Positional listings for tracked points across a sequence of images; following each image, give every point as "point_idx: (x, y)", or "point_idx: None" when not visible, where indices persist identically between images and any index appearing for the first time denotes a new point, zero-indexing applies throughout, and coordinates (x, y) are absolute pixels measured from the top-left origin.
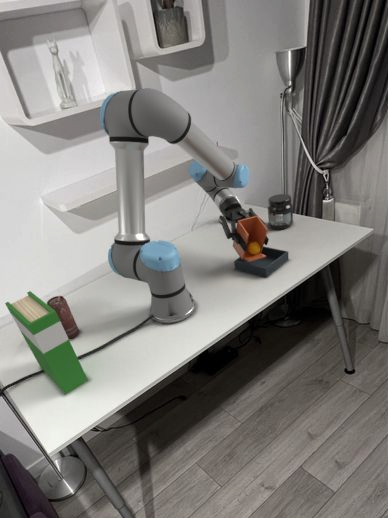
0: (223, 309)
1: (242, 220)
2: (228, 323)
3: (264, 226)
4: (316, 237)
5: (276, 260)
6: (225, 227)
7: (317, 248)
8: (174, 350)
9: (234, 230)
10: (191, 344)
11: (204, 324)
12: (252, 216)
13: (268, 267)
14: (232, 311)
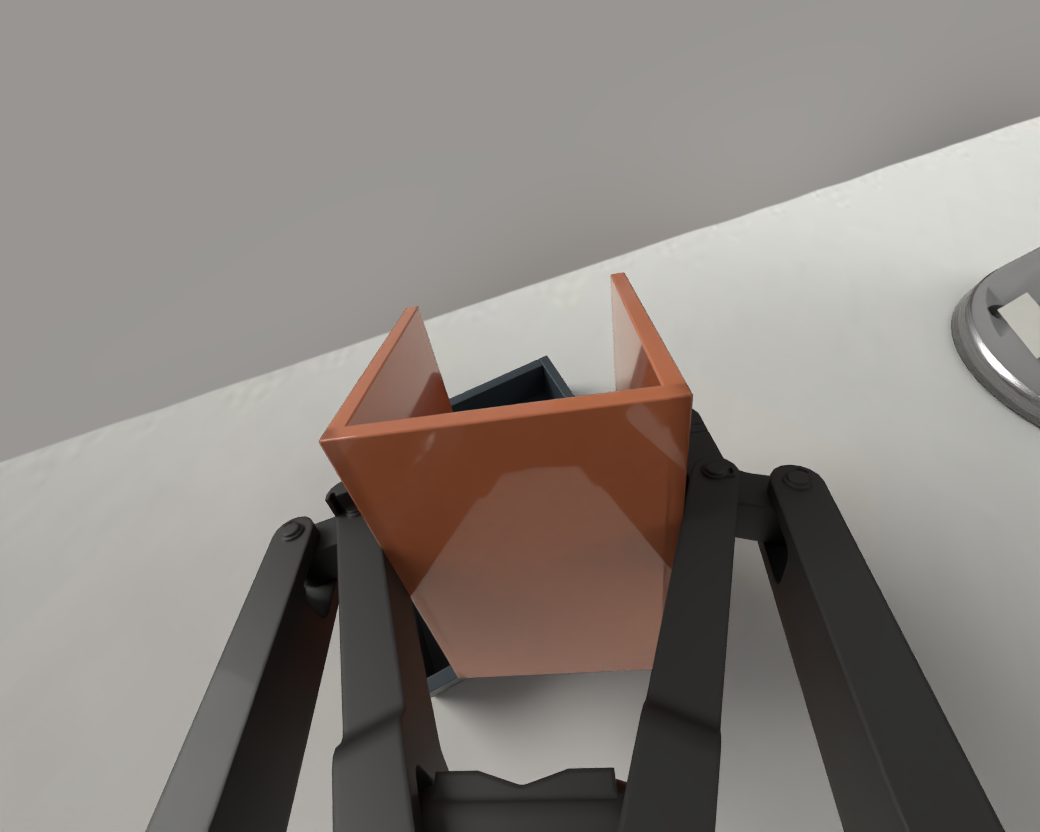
0: (806, 276)
1: (601, 395)
2: (798, 212)
3: (402, 326)
4: (40, 627)
5: (454, 397)
6: (877, 589)
7: (177, 493)
8: (1010, 172)
9: (711, 502)
10: (944, 176)
11: (896, 234)
12: (254, 777)
13: (525, 368)
14: (770, 255)
